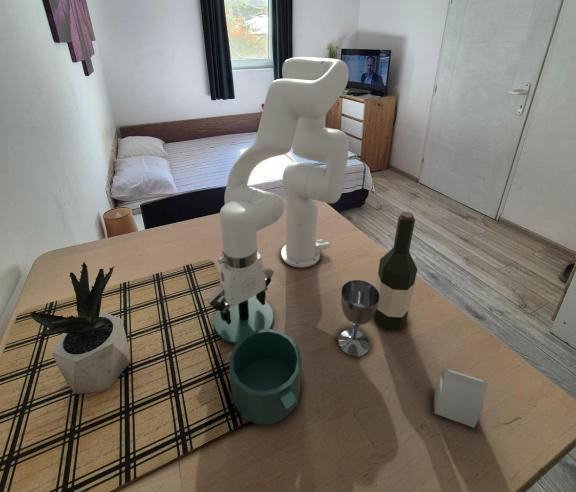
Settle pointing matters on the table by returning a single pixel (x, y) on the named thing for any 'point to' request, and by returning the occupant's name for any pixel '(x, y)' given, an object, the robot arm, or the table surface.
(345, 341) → the wine glass
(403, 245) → the wine bottle
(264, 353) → the pot
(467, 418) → the white box
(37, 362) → the table surface
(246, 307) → the lid
